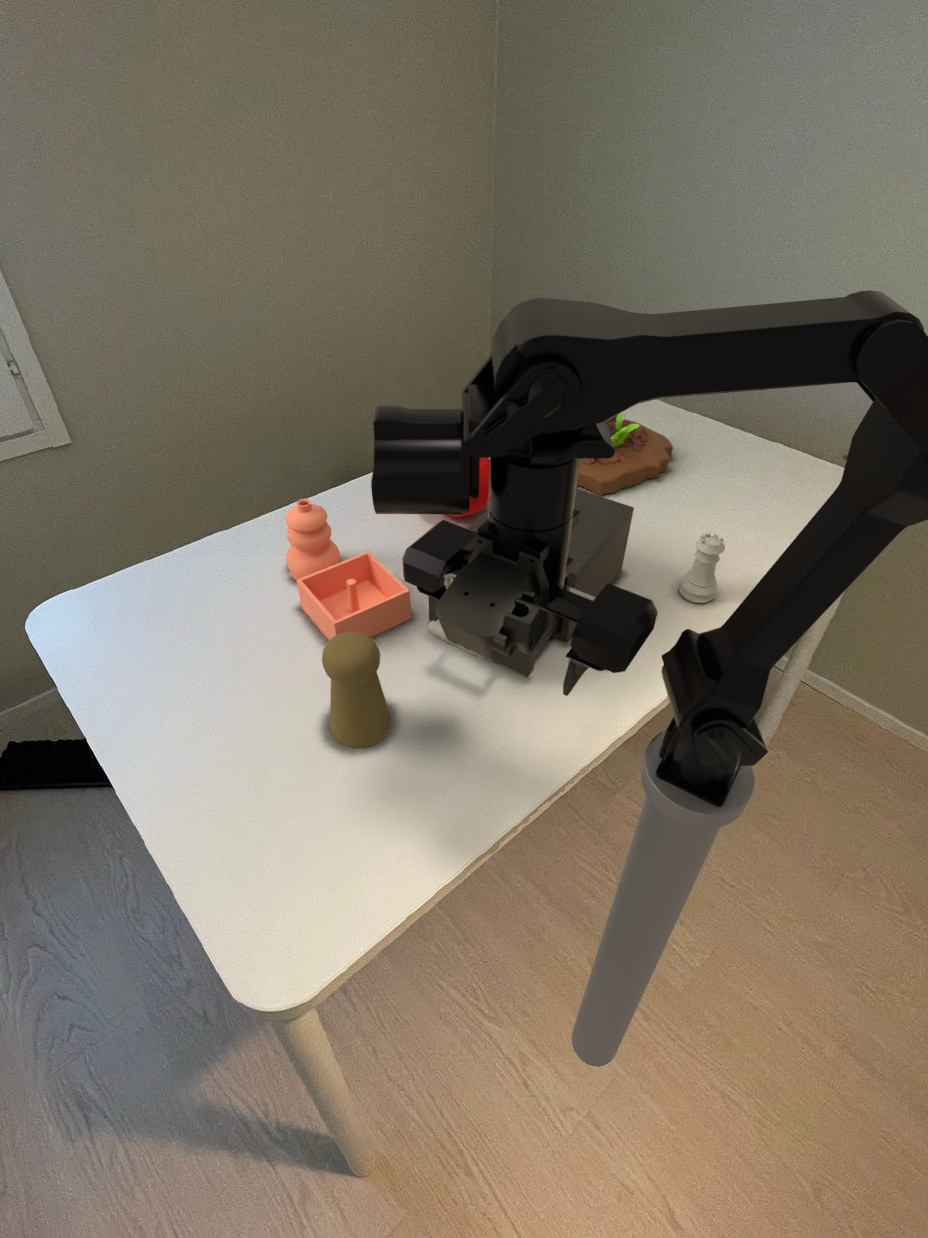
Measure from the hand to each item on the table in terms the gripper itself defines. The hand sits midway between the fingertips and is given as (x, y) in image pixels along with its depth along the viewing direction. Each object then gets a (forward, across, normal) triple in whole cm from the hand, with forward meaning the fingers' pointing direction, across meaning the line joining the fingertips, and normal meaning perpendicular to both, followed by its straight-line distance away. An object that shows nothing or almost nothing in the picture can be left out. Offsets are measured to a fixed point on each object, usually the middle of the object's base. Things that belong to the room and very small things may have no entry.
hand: (517, 668), depth 58 cm
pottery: (+13, -30, +10) cm, 34 cm away
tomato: (+13, -28, +33) cm, 45 cm away
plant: (+13, -18, +57) cm, 61 cm away
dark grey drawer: (+12, -10, +15) cm, 21 cm away
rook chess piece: (+13, +6, +34) cm, 37 cm away
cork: (+13, -15, -4) cm, 20 cm away
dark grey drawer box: (+13, -10, +25) cm, 30 cm away
